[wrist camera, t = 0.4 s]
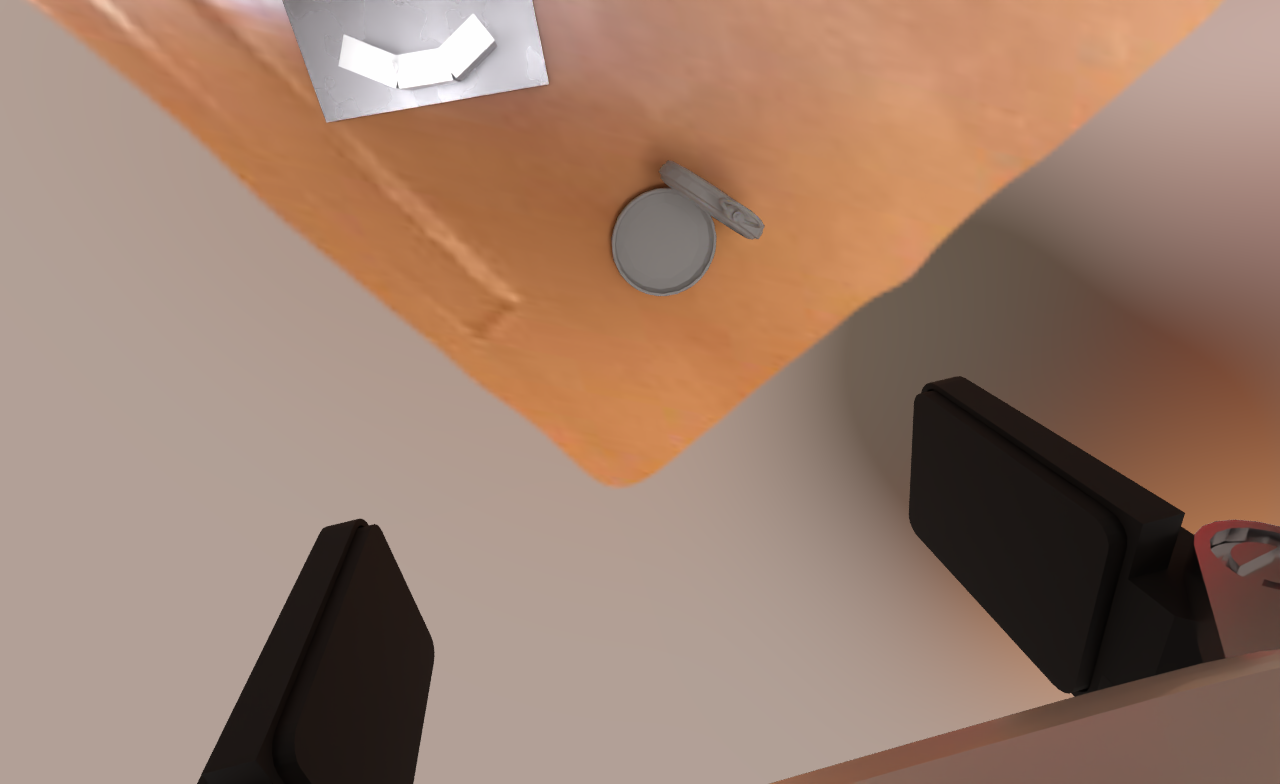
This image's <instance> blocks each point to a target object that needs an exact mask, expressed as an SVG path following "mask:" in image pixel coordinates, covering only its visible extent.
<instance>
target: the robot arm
mask: <svg viewBox="0 0 1280 784" xmlns="http://www.w3.org/2000/svg"><path fill="white" fill-rule="evenodd" d="M1184 514H1185V513H1184V512H1183V511H1181V510H1179V509H1178V508H1176V507H1174V506H1173V505H1171V504H1169V503H1168V502H1166V501H1165V500H1163V499H1161V498H1160V497H1158V496H1156V495H1155V494H1153V493H1152V492H1150V491H1148V490H1147V489H1145V488H1143V487H1142V486H1140V485H1138V484H1137V483H1135V482H1134V481H1132V480H1130V479H1129V478H1127V477H1125V476H1124V475H1122V474H1121V473H1119V472H1117V471H1116V470H1114V469H1112V468H1111V467H1109V466H1108V465H1106V464H1104V463H1103V462H1101V461H1099V460H1098V459H1096V458H1095V457H1093V456H1091V455H1090V454H1088V453H1086V452H1085V451H1083V450H1082V449H1080V448H1078V447H1077V446H1075V445H1073V444H1072V443H1070V442H1068V441H1067V440H1065V439H1064V438H1062V437H1060V436H1059V435H1057V434H1055V433H1054V432H1052V431H1051V430H1049V429H1047V428H1046V427H1044V426H1042V425H1041V424H1039V423H1038V422H1036V421H1034V420H1033V419H1031V418H1029V417H1028V416H1026V415H1024V414H1023V413H1021V412H1020V411H1018V410H1016V409H1015V408H1013V407H1011V406H1010V405H1008V404H1007V403H1005V402H1003V401H1002V400H1000V399H998V398H997V397H995V396H993V395H992V394H990V393H988V392H987V391H985V390H984V389H982V388H980V387H979V386H977V385H976V384H974V383H972V382H971V381H969V380H967V379H966V378H963V377H961V376H959V377H953V378H948V379H945V380H940V381H936V382H932V383H928V384H926V385H925V386H924V387H923V389H922V393H921V394H918V395H917V396H916V398H915V401H914V416H913V439H912V458H911V480H910V501H909V519H910V523H911V526H912V528H913V530H914V532H915V533H916V535H917V536H918V537H919V538H920V539H921V540H922V541H923V542H924V544H925V545H926V546H927V547H928V548H929V549H930V550H931V551H932V552H933V553H934V555H935V556H936V557H937V558H938V559H939V560H940V561H941V562H942V563H943V564H944V566H945V567H946V568H947V569H948V570H949V571H950V572H951V573H952V574H953V575H954V576H955V578H956V579H957V580H958V581H959V582H960V583H961V584H962V585H963V586H964V587H965V588H966V590H967V591H968V592H969V593H970V594H971V595H972V596H973V597H974V598H975V599H976V600H977V601H978V603H979V604H980V605H981V606H982V607H983V608H984V609H985V610H986V611H987V613H988V614H989V615H990V616H991V617H992V618H993V619H994V620H995V621H996V622H997V623H998V624H999V626H1000V627H1001V628H1002V629H1003V630H1004V631H1005V632H1006V633H1007V634H1008V635H1009V637H1010V638H1011V639H1012V640H1013V641H1014V642H1015V643H1016V644H1017V645H1018V646H1019V648H1020V649H1021V650H1022V651H1023V652H1024V653H1025V654H1026V655H1027V656H1028V657H1029V658H1030V660H1031V661H1032V662H1033V663H1034V664H1035V665H1036V666H1037V667H1038V668H1039V669H1040V671H1041V672H1042V673H1043V674H1044V675H1045V676H1046V677H1047V678H1048V679H1049V680H1050V681H1051V683H1052V684H1053V685H1055V686H1056V687H1057V688H1058V689H1059V690H1061V691H1062V692H1064V693H1072V694H1073V695H1074V697H1073V698H1069V699H1065V700H1062V701H1058V702H1055V703H1051V704H1047V705H1044V706H1041V707H1037V708H1033V709H1030V710H1026V711H1023V712H1019V713H1016V714H1012V715H1009V716H1005V717H1002V718H998V719H994V720H991V721H987V722H983V723H980V724H976V725H973V726H969V727H966V728H962V729H959V730H956V731H952V732H948V733H944V734H941V735H937V736H934V737H930V738H927V739H923V740H920V741H916V742H912V743H909V744H906V745H902V746H899V747H895V748H892V749H888V750H885V751H881V752H878V753H874V754H871V755H867V756H864V757H860V758H857V759H853V760H850V761H846V762H843V763H839V764H836V765H832V766H829V767H825V768H822V769H818V770H815V771H811V772H808V773H805V774H801V775H798V776H794V777H791V778H787V779H784V780H780V781H777V782H774V783H770V784H1280V527H1279V526H1275V525H1271V524H1266V523H1261V522H1256V521H1244V520H1226V521H1215V522H1213V523H1210V524H1207V525H1204V526H1202V527H1201V528H1200V529H1199V530H1198V531H1197V532H1196V533H1195V534H1194V535H1193V534H1192V533H1190V532H1189V531H1187V530H1185V529H1184V528H1182V527H1181V524H1182V521H1183V518H1184ZM433 664H434V645H433V641H432V638H431V635H430V633H429V631H428V629H427V627H426V624H425V622H424V620H423V618H422V616H421V614H420V612H419V610H418V607H417V605H416V603H415V601H414V599H413V597H412V595H411V592H410V590H409V589H408V586H407V584H406V582H405V580H404V578H403V575H402V573H401V571H400V569H399V567H398V565H397V562H396V560H395V559H394V556H393V554H392V552H391V550H390V548H389V545H388V543H387V541H386V539H385V537H384V535H383V532H382V531H381V529H380V527H379V526H378V525H375V524H374V525H368V524H367V522H366V521H365V520H363V519H356V520H352V521H348V522H344V523H340V524H336V525H331V526H327V527H325V528H323V529H322V531H321V532H320V534H319V536H318V538H317V540H316V542H315V544H314V546H313V548H312V550H311V552H310V554H309V556H308V558H307V560H306V562H305V564H304V566H303V568H302V571H301V572H300V575H299V577H298V579H297V581H296V583H295V585H294V587H293V589H292V591H291V593H290V595H289V597H288V599H287V601H286V603H285V605H284V607H283V609H282V611H281V613H280V615H279V618H278V619H277V621H276V624H275V626H274V628H273V630H272V632H271V634H270V636H269V638H268V640H267V642H266V644H265V646H264V648H263V650H262V652H261V654H260V656H259V658H258V660H257V662H256V664H255V666H254V668H253V670H252V672H251V675H250V676H249V679H248V681H247V683H246V685H245V687H244V689H243V691H242V693H241V695H240V697H239V699H238V701H237V703H236V705H235V707H234V709H233V711H232V713H231V715H230V717H229V719H228V721H227V723H226V725H225V727H224V730H223V732H222V734H221V736H220V738H219V740H218V742H217V744H216V746H215V748H214V750H213V752H212V754H211V756H210V758H209V760H208V762H207V764H206V766H205V768H204V770H203V772H202V774H201V777H200V779H199V781H198V783H197V784H413V782H414V776H415V770H416V764H417V758H418V752H419V746H420V740H421V735H422V728H423V723H424V717H425V711H426V705H427V699H428V693H429V687H430V681H431V676H432V670H433Z"/></svg>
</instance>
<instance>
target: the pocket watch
mask: <svg viewBox="0 0 1280 784" xmlns="http://www.w3.org/2000/svg"><path fill="white" fill-rule="evenodd" d="M659 173H660V174H661V179H662V180H663V182H664V183H665V184H667V185H668V186H669V187H670V188H658V189H653V190H650V191H647V192H644V193H642V194H640V195H639V196H637V197H636V198H634V199H633V200H632V201H631V202H629V204H628V205H627V206H626V207H625V208H624V209H623V210H622V212H621V214H620V215H619V216H618V218H617V221H616V223H615V226H614V230H613V234H612V238H611V240H612V252H613V260H614V262H615V264H616V266H617V268H618V270H619V272H620V274H621V276H622V277H623V278H624V279H625V280H626V281H627V282H628V283H629V284H630V285H631V286H633V287H634V288H636V289H637V290H639V291H641V292H644V293H646V294H650V295H655V296H668V295H673V294H678V293H680V292H682V291H685V290H687V289H688V288H690V287H692V286H693V285H694V284H695V283H697V282H698V281H699V280H700V279H701V278H702V276H703V275H704V274H705V272H706V271H707V270H708V268H709V266H710V264H711V262H712V259H713V257H714V254H715V249H716V232H715V227H714V222H713V220H712V218H711V216H712V217H714V218H715V219H717V220H718V221H720V222H721V223H723V224H724V225H726V226H728V227H729V228H731V229H732V230H734V231H735V232H737V233H739V234H740V235H742V236H744V237H745V238H748V239H754V238H756V239H759V238H760V236H761V235H762V233H763V228H764V224H763V222H762V221H761V220H760V218H759V217H758V216H756V215H755V214H754V213H753V212H752V211H751V210H749V209H748V208H746V207H744V206H743V205H741V204H740V203H738V202H737V201H735V200H734V199H732V198H731V197H729V196H728V195H727V194H725V193H724V192H722V191H721V190H720V189H718V188H717V187H715V186H714V185H712V184H711V183H709V182H707V181H706V180H704V179H703V178H701V177H699V176H698V175H696V174H695V173H693V172H691V171H690V170H688V169H687V168H685V167H683V166H681V165H679V164H677V163H675V162H673V161H669V160H668V161H667V162H666V163H665V164H663V165H662V167H661V168H660V170H659Z"/></svg>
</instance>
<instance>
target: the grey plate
mask: <svg viewBox="0 0 1280 784" xmlns="http://www.w3.org/2000/svg"><path fill="white" fill-rule="evenodd" d="M282 1H283V3H284V6H285V9H286V12H287V15H288V17H289V20H290V23H291V26H292V28H293V31H294V34H295V37H296V39H297V42H298V45H299V48H300V51H301V53H302V56H303V59H304V62H305V64H306V67H307V70H308V73H309V75H310V78H311V81H312V84H313V87H314V89H315V92H316V95H317V98H318V100H319V103H320V106H321V109H322V111H323V114H324V117H325V120H326V122H333V121H339V120H345V119H351V118H357V117H362V116H368V115H374V114H380V113H386V112H391V111H397V110H403V109H409V108H414V107H420V106H426V105H432V104H438V103H443V102H449V101H455V100H461V99H467V98H472V97H478V96H484V95H490V94H495V93H501V92H507V91H513V90H519V89H524V88H530V87H536V86H542V85H547V84H549V81H548V76H547V71H546V66H545V61H544V57H543V52H542V47H541V42H540V37H539V32H538V27H537V22H536V17H535V12H534V7H533V2H532V0H282Z"/></svg>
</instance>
